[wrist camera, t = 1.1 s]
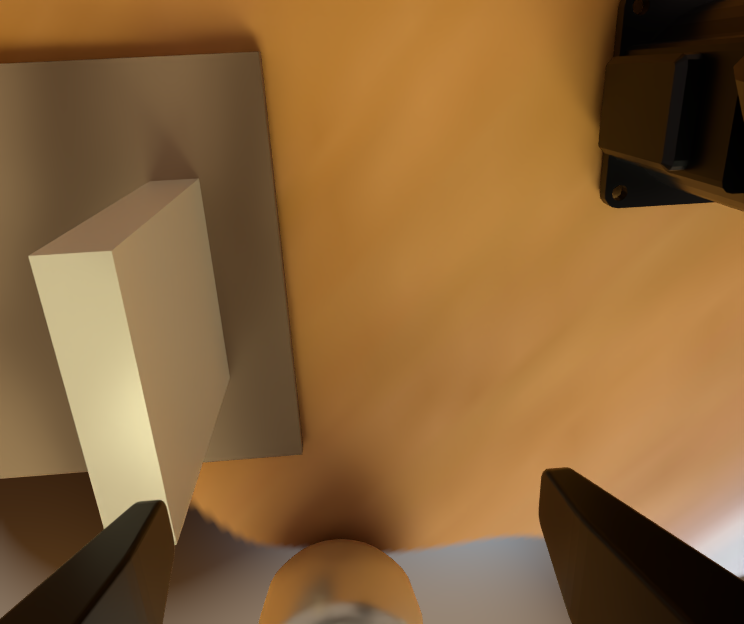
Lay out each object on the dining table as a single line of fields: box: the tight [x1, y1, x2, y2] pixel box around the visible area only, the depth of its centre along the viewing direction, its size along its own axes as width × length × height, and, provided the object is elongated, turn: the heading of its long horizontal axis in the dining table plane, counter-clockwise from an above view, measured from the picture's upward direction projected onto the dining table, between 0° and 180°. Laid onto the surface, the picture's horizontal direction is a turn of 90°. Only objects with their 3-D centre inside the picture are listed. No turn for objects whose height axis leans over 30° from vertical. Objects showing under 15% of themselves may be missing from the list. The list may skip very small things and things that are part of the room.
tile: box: [28, 178, 230, 545], centre depth 16 cm, size 2×7×8 cm, turn 2°
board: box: [0, 52, 303, 479], centre depth 20 cm, size 14×14×1 cm
